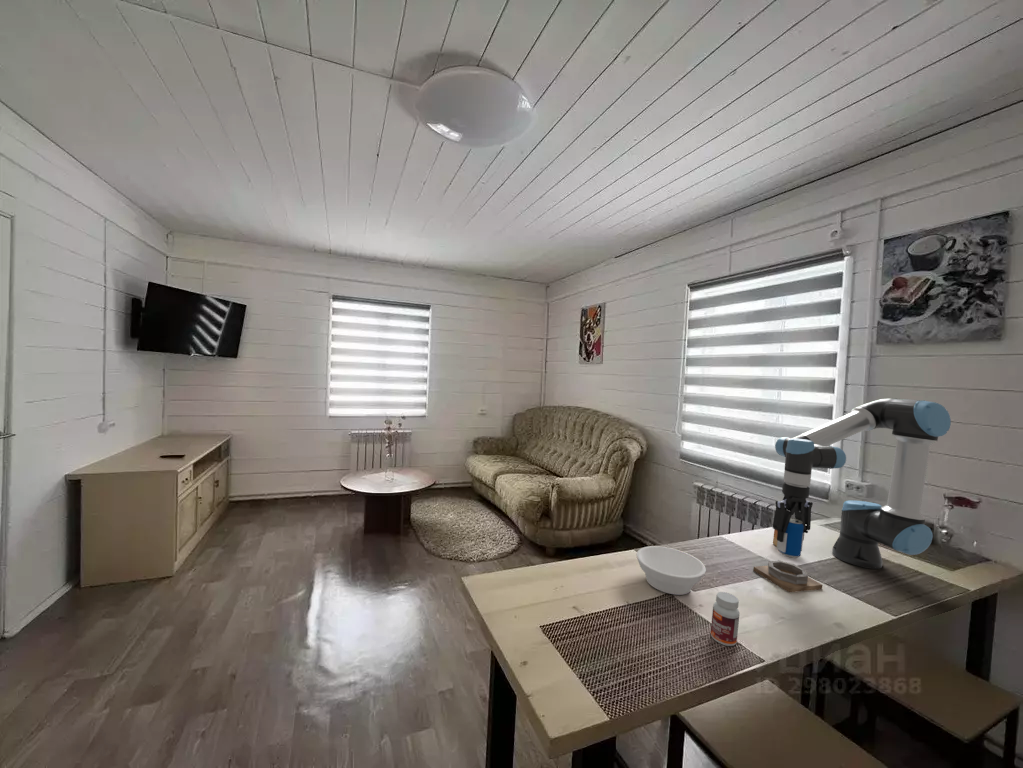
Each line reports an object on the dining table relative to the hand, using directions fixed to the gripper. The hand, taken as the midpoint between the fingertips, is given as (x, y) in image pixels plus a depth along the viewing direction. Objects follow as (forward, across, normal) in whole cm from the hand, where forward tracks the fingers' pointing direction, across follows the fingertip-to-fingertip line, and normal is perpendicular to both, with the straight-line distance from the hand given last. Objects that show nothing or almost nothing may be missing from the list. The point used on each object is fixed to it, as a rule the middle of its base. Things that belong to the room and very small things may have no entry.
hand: (789, 549), depth 140 cm
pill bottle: (+11, +47, +23) cm, 53 cm away
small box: (+11, -23, -21) cm, 33 cm away
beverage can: (+2, 0, 0) cm, 2 cm away
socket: (+11, 0, 0) cm, 11 cm away
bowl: (+11, +45, -3) cm, 46 cm away
